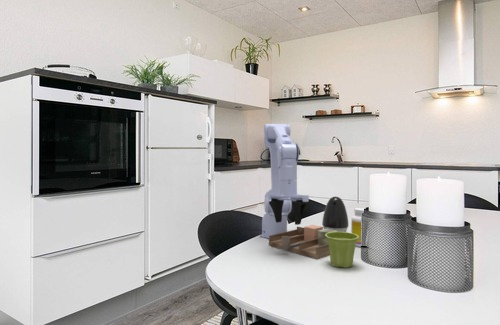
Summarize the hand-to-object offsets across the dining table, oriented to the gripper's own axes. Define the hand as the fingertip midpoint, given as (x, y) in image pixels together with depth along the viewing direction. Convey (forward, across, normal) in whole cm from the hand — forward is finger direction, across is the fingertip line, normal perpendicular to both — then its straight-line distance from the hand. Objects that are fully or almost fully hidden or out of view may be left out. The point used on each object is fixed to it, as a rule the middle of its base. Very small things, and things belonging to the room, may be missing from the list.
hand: (288, 223), depth 112 cm
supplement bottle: (+9, +12, +27) cm, 31 cm away
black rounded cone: (+8, -3, +35) cm, 36 cm away
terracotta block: (+8, 0, +8) cm, 11 cm away
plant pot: (+11, +17, +3) cm, 20 cm away
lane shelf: (+9, 0, +11) cm, 14 cm away
